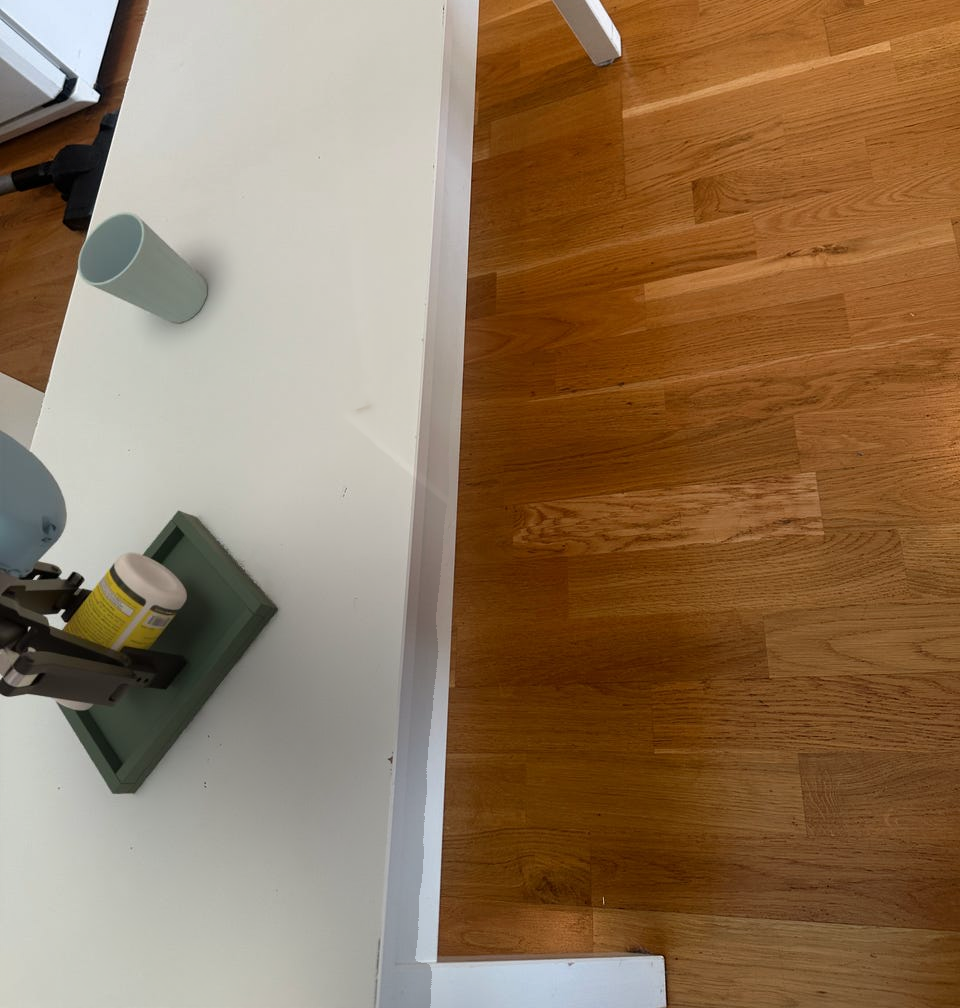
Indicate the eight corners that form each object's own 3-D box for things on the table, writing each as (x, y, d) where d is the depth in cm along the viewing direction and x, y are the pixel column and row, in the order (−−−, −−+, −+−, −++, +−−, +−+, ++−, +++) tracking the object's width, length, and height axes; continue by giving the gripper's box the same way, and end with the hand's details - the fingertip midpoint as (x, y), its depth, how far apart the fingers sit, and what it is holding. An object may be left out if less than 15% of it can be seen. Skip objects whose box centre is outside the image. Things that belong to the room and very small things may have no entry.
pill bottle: (122, 539, 70) (31, 652, 69) (123, 571, 64) (24, 694, 63) (187, 576, 72) (100, 685, 71) (193, 610, 67) (100, 729, 66)
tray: (134, 793, 69) (112, 794, 67) (63, 682, 76) (41, 680, 74) (278, 608, 70) (261, 603, 68) (195, 516, 77) (178, 509, 75)
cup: (143, 309, 91) (65, 260, 82) (192, 254, 91) (119, 199, 83) (177, 346, 87) (99, 298, 78) (229, 288, 87) (156, 234, 79)
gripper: (-14, 649, 48) (246, 686, 67) (-124, 460, 58) (128, 539, 77) (-106, 763, 47) (183, 767, 66) (-201, 551, 57) (72, 608, 77)
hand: (153, 644), depth 72 cm, fingers closed on pill bottle, 6 cm apart
